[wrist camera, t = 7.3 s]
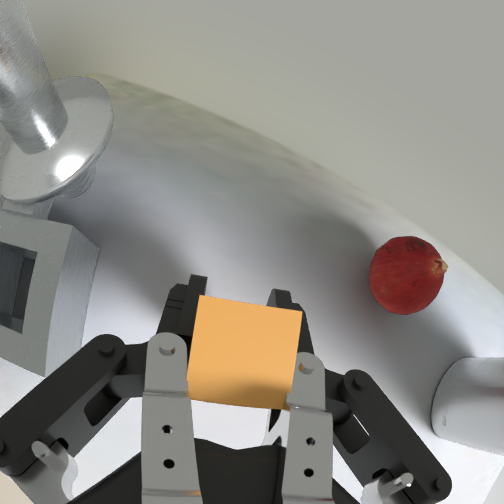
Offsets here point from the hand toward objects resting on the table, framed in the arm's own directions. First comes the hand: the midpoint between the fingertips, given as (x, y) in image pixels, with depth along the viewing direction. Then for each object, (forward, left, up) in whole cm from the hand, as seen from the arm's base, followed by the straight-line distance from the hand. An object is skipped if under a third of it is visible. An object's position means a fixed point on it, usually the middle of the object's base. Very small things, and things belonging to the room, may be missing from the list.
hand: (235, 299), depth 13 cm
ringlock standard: (+14, -3, -8) cm, 17 cm away
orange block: (0, +2, -4) cm, 5 cm away
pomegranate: (-13, -4, -8) cm, 16 cm away
